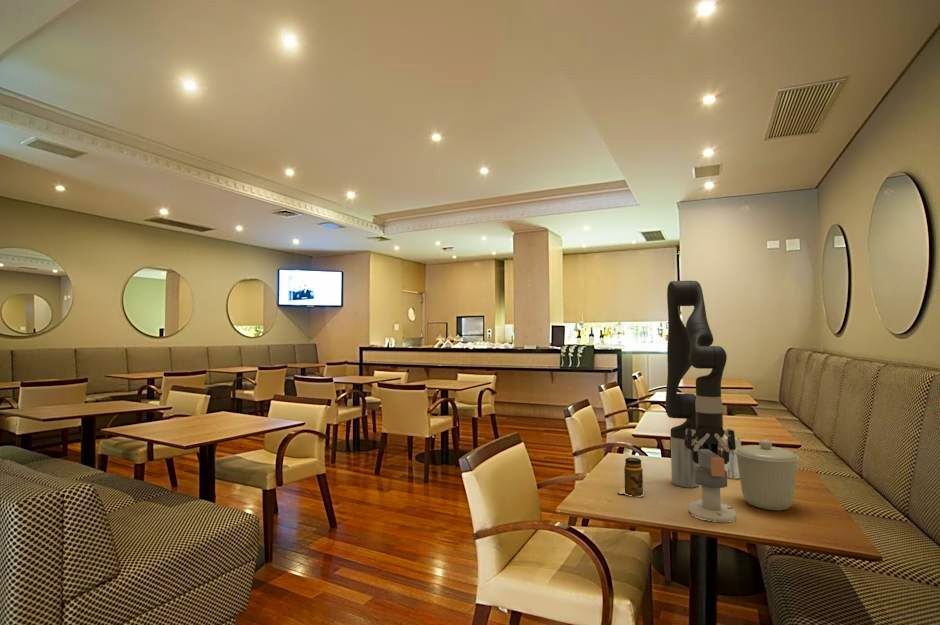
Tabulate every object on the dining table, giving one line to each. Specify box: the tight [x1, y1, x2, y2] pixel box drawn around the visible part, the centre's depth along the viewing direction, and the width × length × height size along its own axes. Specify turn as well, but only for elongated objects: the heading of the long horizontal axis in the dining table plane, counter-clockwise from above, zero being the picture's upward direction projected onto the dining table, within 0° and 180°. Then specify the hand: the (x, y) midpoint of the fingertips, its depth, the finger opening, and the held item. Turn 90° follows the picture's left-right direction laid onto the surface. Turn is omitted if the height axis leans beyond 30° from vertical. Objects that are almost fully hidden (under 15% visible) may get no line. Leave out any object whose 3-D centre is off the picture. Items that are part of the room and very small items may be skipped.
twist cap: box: [694, 448, 728, 489], centre depth 148 cm, size 12×9×9 cm
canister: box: [734, 438, 801, 511], centre depth 155 cm, size 18×18×21 cm
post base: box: [688, 486, 737, 523], centre depth 147 cm, size 13×13×9 cm
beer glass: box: [720, 435, 742, 480], centre depth 186 cm, size 7×7×15 cm
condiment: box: [623, 457, 646, 496], centre depth 167 cm, size 7×8×12 cm
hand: (710, 463), depth 148 cm, fingers open, 8 cm apart
